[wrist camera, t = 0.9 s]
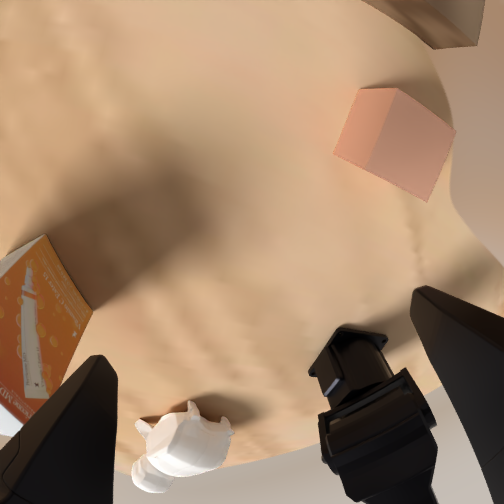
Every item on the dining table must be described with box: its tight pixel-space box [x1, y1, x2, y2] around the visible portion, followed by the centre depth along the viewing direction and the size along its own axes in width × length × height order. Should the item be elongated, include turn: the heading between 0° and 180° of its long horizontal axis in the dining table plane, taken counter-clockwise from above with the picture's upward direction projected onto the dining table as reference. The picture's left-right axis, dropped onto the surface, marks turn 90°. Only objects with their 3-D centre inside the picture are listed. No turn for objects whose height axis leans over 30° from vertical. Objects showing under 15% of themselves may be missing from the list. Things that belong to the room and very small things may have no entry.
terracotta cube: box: [333, 88, 456, 202], centre depth 16 cm, size 5×5×5 cm
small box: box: [0, 234, 93, 437], centre depth 15 cm, size 8×6×13 cm
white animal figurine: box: [132, 400, 234, 493], centre depth 29 cm, size 9×8×15 cm
